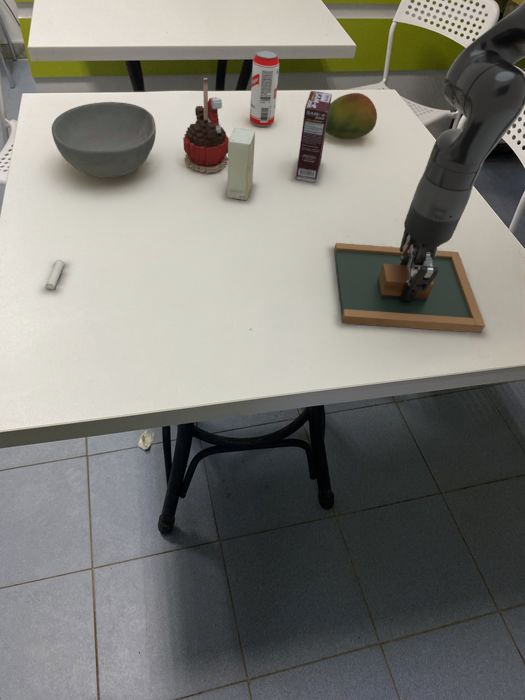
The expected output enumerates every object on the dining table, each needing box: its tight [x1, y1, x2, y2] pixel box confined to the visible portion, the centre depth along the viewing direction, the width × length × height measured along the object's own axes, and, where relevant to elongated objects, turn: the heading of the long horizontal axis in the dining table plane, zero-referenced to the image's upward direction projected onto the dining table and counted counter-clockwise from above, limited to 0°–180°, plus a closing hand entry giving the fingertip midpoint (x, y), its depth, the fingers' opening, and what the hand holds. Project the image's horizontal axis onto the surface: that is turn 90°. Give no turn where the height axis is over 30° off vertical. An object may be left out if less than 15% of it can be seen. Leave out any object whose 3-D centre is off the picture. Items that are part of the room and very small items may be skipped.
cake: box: [182, 77, 230, 173], centre depth 104 cm, size 11×9×18 cm
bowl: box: [51, 101, 157, 178], centre depth 103 cm, size 20×20×10 cm
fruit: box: [326, 92, 378, 140], centre depth 120 cm, size 12×13×10 cm
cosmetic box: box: [226, 127, 256, 201], centre depth 100 cm, size 6×4×12 cm
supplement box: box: [295, 90, 333, 183], centre depth 106 cm, size 9×5×16 cm, turn 168°
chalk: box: [45, 259, 65, 290], centre depth 83 cm, size 1×6×1 cm
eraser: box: [378, 264, 434, 301], centre depth 85 cm, size 8×4×4 cm, turn 89°
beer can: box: [249, 48, 280, 128], centre depth 119 cm, size 6×6×16 cm
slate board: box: [333, 242, 486, 333], centre depth 88 cm, size 24×19×2 cm
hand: (403, 289), depth 86 cm, fingers closed on eraser, 4 cm apart
